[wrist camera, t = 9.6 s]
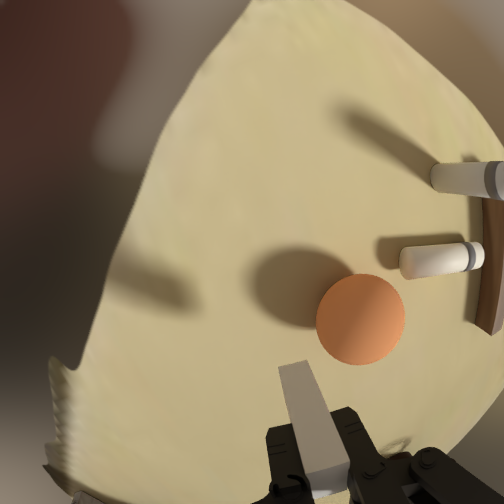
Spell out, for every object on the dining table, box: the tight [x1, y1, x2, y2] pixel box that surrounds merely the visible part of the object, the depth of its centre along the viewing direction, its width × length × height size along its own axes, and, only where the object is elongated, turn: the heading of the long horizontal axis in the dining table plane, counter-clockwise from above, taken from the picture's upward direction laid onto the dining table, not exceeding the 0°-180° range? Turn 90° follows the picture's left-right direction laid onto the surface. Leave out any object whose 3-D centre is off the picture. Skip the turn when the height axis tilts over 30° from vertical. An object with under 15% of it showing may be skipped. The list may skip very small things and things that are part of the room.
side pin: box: [430, 161, 504, 201], centre depth 13 cm, size 2×2×8 cm
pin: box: [399, 242, 484, 280], centre depth 18 cm, size 2×2×8 cm
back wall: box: [475, 197, 504, 336], centre depth 18 cm, size 2×16×3 cm, turn 12°
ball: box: [316, 274, 405, 365], centre depth 16 cm, size 6×6×6 cm
